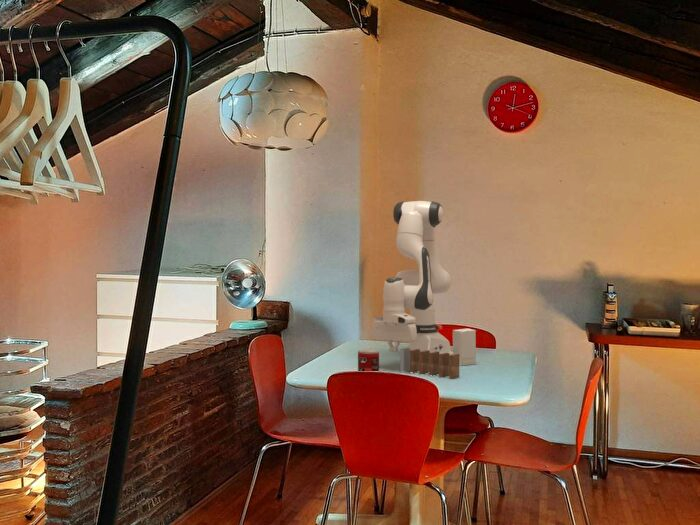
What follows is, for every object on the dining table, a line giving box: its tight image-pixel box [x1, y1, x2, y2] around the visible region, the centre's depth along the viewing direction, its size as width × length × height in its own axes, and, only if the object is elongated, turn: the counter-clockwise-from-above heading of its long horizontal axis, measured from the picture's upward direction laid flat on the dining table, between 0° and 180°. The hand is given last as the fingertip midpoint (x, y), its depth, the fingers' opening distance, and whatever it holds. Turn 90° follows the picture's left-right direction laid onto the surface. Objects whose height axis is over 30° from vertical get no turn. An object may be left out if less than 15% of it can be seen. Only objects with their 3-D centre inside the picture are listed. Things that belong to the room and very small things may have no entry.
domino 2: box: [409, 349, 420, 373], centre depth 286 cm, size 2×5×9 cm, turn 142°
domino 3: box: [418, 350, 430, 375], centre depth 283 cm, size 2×5×9 cm, turn 142°
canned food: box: [357, 348, 380, 372], centre depth 272 cm, size 8×8×11 cm
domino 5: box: [438, 352, 449, 378], centre depth 278 cm, size 2×5×9 cm, turn 142°
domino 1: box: [399, 347, 411, 372], centre depth 289 cm, size 2×5×9 cm, turn 142°
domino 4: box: [428, 351, 439, 377], centre depth 280 cm, size 2×5×9 cm, turn 142°
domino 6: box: [448, 354, 460, 380], centre depth 275 cm, size 2×5×9 cm, turn 142°
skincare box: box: [452, 328, 477, 367], centre depth 303 cm, size 8×6×15 cm
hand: (393, 351), depth 292 cm, fingers closed
